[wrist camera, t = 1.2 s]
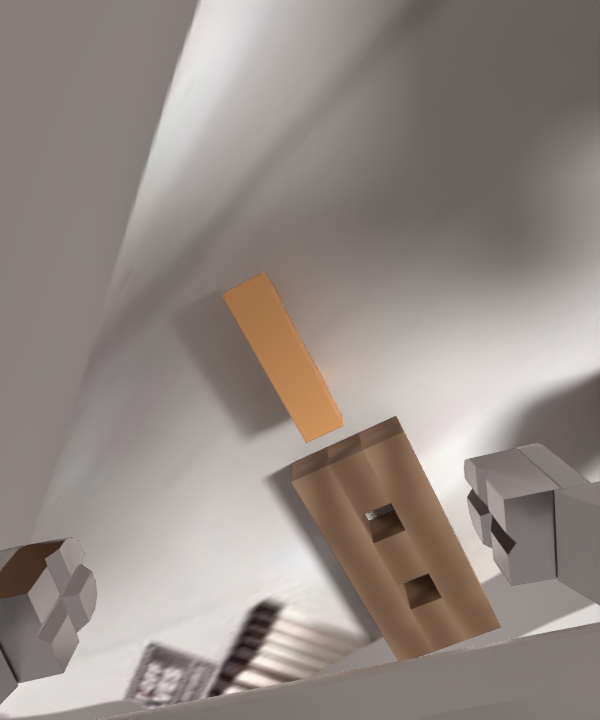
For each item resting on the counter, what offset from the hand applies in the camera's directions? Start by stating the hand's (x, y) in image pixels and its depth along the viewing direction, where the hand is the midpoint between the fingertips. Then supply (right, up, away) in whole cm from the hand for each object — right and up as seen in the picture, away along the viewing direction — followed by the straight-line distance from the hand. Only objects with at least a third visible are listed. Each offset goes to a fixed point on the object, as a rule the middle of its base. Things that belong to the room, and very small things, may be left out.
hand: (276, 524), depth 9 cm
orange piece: (0, +5, +27) cm, 28 cm away
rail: (+9, -13, +32) cm, 36 cm away
